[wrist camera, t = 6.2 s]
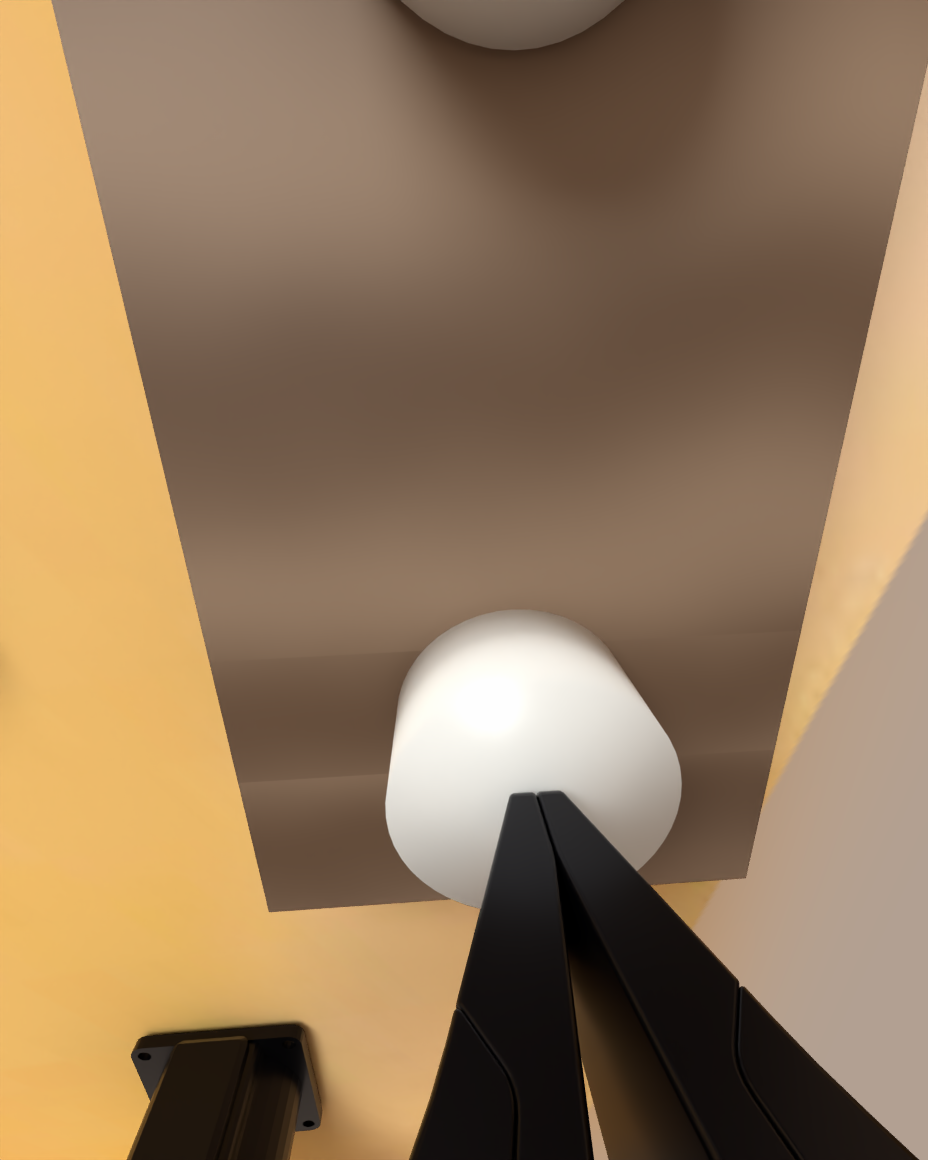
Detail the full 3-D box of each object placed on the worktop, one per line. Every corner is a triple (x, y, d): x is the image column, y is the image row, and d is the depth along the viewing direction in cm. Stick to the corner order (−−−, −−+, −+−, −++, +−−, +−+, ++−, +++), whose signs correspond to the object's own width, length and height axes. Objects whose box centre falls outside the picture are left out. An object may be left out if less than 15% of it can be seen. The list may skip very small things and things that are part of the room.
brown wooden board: (675, 768, 17) (745, 878, 13) (307, 791, 16) (268, 912, 12) (843, -421, 8) (1190, -1111, 4) (87, -440, 8) (-238, -1216, 4)
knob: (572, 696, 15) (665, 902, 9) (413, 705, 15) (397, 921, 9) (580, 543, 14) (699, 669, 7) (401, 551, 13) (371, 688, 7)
